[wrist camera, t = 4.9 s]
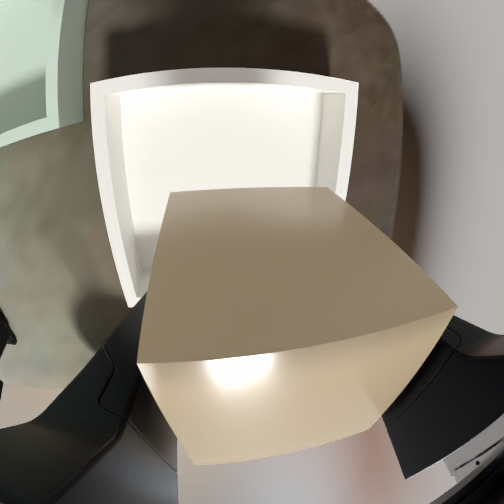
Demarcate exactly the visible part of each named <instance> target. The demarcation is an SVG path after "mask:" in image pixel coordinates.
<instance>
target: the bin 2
mask: <svg viewBox="0 0 504 504" xmlns="http://www.w3.org/2000/svg"><path fill="white" fill-rule="evenodd" d="M358 85H359V83H358V82H353V81H348V80H344V79H339V78H333V77H328V76H322V75H315V74H309V73H301V72H293V71H284V70H272V69H257V68H192V69H177V70H166V71H157V72H149V73H141V74H135V75H128V76H123V77H117V78H112V79H107V80H102V81H98V82H94V83H90V98H91V120H92V134H93V145H94V154H95V163H96V170H97V177H98V184H99V190H100V196H101V202H102V207H103V212H104V217H105V222H106V227H107V232H108V236H109V240H110V245H111V249H112V253H113V257H114V261H115V264H116V268H117V272H118V275H119V279H120V282H121V286H122V289H123V292H124V295H125V299H126V302H127V305H128V307H134V306H135V305H136V303H137V302H138V301H139V300H140V299H141V298H142V296H143V295H144V294H145V293H146V292H147V290H148V285H149V280H150V275H151V270H152V265H153V260H154V255H155V251H156V246H157V242H158V238H159V233H160V229H161V225H162V221H163V217H164V213H165V209H166V206H167V202H168V198H169V195H170V192H180V191H194V190H210V189H229V188H257V187H328V188H329V189H330V190H331V191H333V192H334V193H335V194H337V195H338V196H339V197H340V198H342V199H343V200H344V201H346V195H347V188H348V182H349V175H350V167H351V160H352V152H353V143H354V134H355V124H356V113H357V100H358Z"/></svg>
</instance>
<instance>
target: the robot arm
mask: <svg viewBox="0 0 504 504" xmlns="http://www.w3.org/2000/svg"><path fill="white" fill-rule="evenodd" d="M146 296H147V292H146V293H145V294H144V295H143V296H142V298H141V299H140V300H139V301H138V302H137V303H136V305H135V306H134V307H133V308H132V309H131V311H130V312H129V313H128V314H127V315H126V317H125V318H124V319H123V320H122V321H121V323H120V324H119V325H118V326H117V328H116V329H115V330H114V331H113V332H112V334H111V335H110V336H109V337H108V339H107V340H106V341H105V342H104V344H103V346H101V347H100V349H99V350H98V351H97V352H96V354H95V355H94V356H93V357H92V359H91V360H90V361H89V362H88V363H87V365H86V366H85V367H84V368H83V369H82V370H81V372H80V373H79V374H78V375H77V376H76V377H75V378H74V379H73V380H72V382H71V383H70V384H69V385H68V386H67V387H66V388H65V389H64V390H63V391H62V392H61V393H60V394H59V395H58V397H57V398H56V399H55V400H54V401H53V402H52V403H51V404H50V405H49V406H48V407H47V409H46V410H45V411H44V412H43V413H41V414H40V415H39V416H38V417H36V418H35V419H33V420H32V421H29V422H27V423H23V424H20V425H16V426H11V427H7V428H3V429H0V504H178V483H177V473H176V472H177V437H176V435H175V434H174V432H173V430H172V429H171V427H170V425H169V424H168V422H167V420H166V419H165V417H164V415H163V413H162V412H161V410H160V408H159V406H158V404H157V403H156V401H155V399H154V397H153V395H152V393H151V391H150V389H149V388H148V386H147V384H146V382H145V380H144V378H143V376H142V373H141V371H140V369H139V367H138V365H137V357H138V349H139V341H140V333H141V327H142V320H143V314H144V307H145V302H146ZM16 343H17V340H16V338H15V336H14V335H13V333H12V332H11V330H10V328H9V327H8V325H7V324H6V322H5V320H4V318H3V317H2V315H1V313H0V358H1V356H2V353H3V351H4V349H5V347H6V344H13V345H16ZM2 387H3V382H2V381H1V380H0V398H1V393H2ZM381 416H382V418H383V421H384V423H385V426H386V428H387V432H388V434H389V437H390V439H391V442H392V445H393V447H394V450H395V453H396V456H397V458H398V461H399V464H400V467H401V470H402V472H403V475H404V478H405V479H408V478H410V477H412V476H414V475H416V474H417V473H419V472H421V471H423V470H425V469H427V468H428V467H430V466H432V465H433V464H435V463H437V462H439V461H440V460H442V459H443V460H444V462H445V464H446V466H447V468H448V471H449V473H450V475H451V476H454V477H455V479H456V481H457V484H456V485H455V486H454V487H452V488H451V489H450V490H448V491H447V492H446V493H444V494H443V495H441V496H440V497H439V498H437V499H436V500H434V501H433V502H431V503H430V504H504V335H498V334H493V333H490V332H488V331H486V330H484V329H482V328H479V327H477V326H475V325H473V324H471V323H469V322H467V321H465V320H462V319H460V318H458V317H456V316H454V315H453V316H452V318H451V320H450V322H449V323H448V325H447V327H446V329H445V330H444V332H443V333H442V335H441V337H440V338H439V340H438V342H437V343H436V345H435V346H434V348H433V349H432V351H431V352H430V354H429V355H428V357H427V358H426V360H425V361H424V362H423V364H422V365H421V367H420V368H419V369H418V371H417V372H416V374H415V375H414V376H413V378H412V379H411V380H410V382H409V383H408V384H407V385H406V387H405V388H404V389H403V391H402V392H401V393H400V394H399V395H398V397H397V398H396V399H395V400H394V401H393V403H392V404H391V405H390V406H389V407H388V408H387V410H386V411H385V412H384V413H383V414H382V415H381Z"/></svg>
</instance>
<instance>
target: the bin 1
mask: <svg viewBox="0 0 504 504" xmlns="http://www.w3.org/2000/svg"><path fill="white" fill-rule="evenodd" d="M88 2H89V0H0V147H2V146H5V145H8V144H10V143H13V142H16V141H19V140H21V139H24V138H27V137H30V136H33V135H37V134H40V133H43V132H46V131H50V130H53V129H57V128H61V127H64V126H68V125H71V124H75V123H79V122H83V121H84V113H83V50H84V36H85V25H86V16H87V9H88Z"/></svg>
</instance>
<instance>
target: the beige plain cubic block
mask: <svg viewBox="0 0 504 504" xmlns="http://www.w3.org/2000/svg"><path fill="white" fill-rule="evenodd" d="M457 307H458V306H457V305H456V304H455V303H454V302H453V301H452V300H451V299H450V298H449V296H448V295H447V294H446V293H445V292H444V291H443V290H442V289H441V288H440V287H439V286H438V285H437V284H436V283H435V282H434V281H433V280H432V279H431V278H430V277H429V276H428V275H427V274H426V273H425V272H424V271H423V270H422V269H421V268H420V267H419V266H418V265H417V264H416V263H415V262H414V261H413V260H412V259H411V258H409V256H408V255H407V254H406V253H404V252H403V251H402V250H401V249H400V248H399V247H398V246H397V245H396V244H395V243H393V242H392V241H391V240H390V239H389V238H388V237H387V236H386V235H385V234H384V233H382V232H381V231H380V230H379V229H378V228H377V227H376V226H374V225H373V224H372V223H371V222H370V221H368V220H367V219H366V218H365V217H364V216H363V215H361V214H360V213H359V212H358V211H357V210H355V209H354V208H353V207H352V206H350V205H349V204H348V203H347V202H345V201H344V200H343V199H342V198H340V197H339V196H338V195H337V194H335V193H334V192H333V191H331V190H330V189H329V188H328V187H257V188H229V189H210V190H194V191H180V192H170V195H169V198H168V202H167V206H166V209H165V213H164V217H163V221H162V225H161V229H160V233H159V238H158V242H157V246H156V251H155V255H154V260H153V265H152V270H151V275H150V280H149V285H148V290H147V296H146V302H145V307H144V314H143V320H142V327H141V333H140V341H139V349H138V357H137V365H138V367H139V369H140V371H141V373H142V376H143V378H144V380H145V382H146V384H147V386H148V388H149V389H150V391H151V393H152V395H153V397H154V399H155V401H156V403H157V404H158V406H159V408H160V410H161V412H162V413H163V415H164V417H165V419H166V420H167V422H168V424H169V425H170V427H171V429H172V430H173V432H174V434H175V435H176V437H177V439H178V440H179V441H180V443H181V445H182V446H183V448H184V449H185V451H186V452H187V454H188V455H189V457H190V458H191V460H192V461H193V463H194V464H195V465H207V464H220V463H231V462H239V461H247V460H254V459H259V458H266V457H272V456H277V455H282V454H287V453H291V452H295V451H300V450H304V449H308V448H312V447H315V446H319V445H323V444H326V443H330V442H333V441H336V440H339V439H342V438H345V437H348V436H351V435H354V434H357V433H360V432H362V431H365V430H368V429H369V428H370V427H371V426H372V425H373V424H374V423H375V422H376V420H377V419H379V417H380V416H381V415H382V414H383V413H384V412H385V411H386V410H387V408H388V407H389V406H390V405H391V404H392V403H393V401H394V400H395V399H396V398H397V397H398V395H399V394H400V393H401V392H402V391H403V389H404V388H405V387H406V385H407V384H408V383H409V382H410V380H411V379H412V378H413V376H414V375H415V374H416V372H417V371H418V369H419V368H420V367H421V365H422V364H423V362H424V361H425V360H426V358H427V357H428V355H429V354H430V352H431V351H432V349H433V348H434V346H435V345H436V343H437V342H438V340H439V338H440V337H441V335H442V333H443V332H444V330H445V329H446V327H447V325H448V323H449V322H450V320H451V318H452V316H453V315H454V313H455V311H456V309H457Z"/></svg>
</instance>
